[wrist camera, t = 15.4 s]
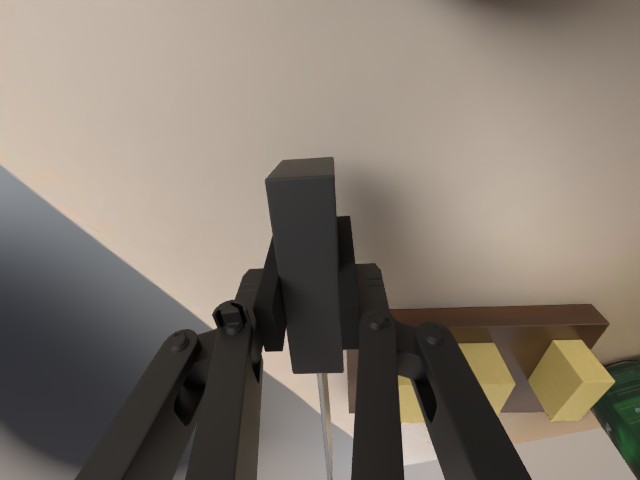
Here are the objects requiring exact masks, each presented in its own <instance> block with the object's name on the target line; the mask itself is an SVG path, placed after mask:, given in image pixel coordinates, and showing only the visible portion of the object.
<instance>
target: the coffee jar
mask: <svg viewBox="0 0 640 480" xmlns="http://www.w3.org/2000/svg"><path fill="white" fill-rule="evenodd" d="M605 369H606V371H607V372H608V373H609V374H610V375H611V377H612V378H613V379H614V380H615V383H614V384H613V385H612V386H611V387H610V388H609V389H608V390H607V391H606V392H605V393H604V394H603V395H602V397H601V398H600V399H599V400H598V401H597V402H596V403H595V404H594V405H593V406H592V407H591V408H590V409H591V411H592V412H593V414H594V415H595V417H596V418H597V420H598V421H599V423H600V424H601V426H602V428H603V429H604V430H605V432H606V433H607V435H608V436H609V438H610V439H611V441H612V442H613V443H614V445H615V447H616V448H617V449H618V451H619V453H620V454H621V456H622V457H623V459H624V460H625V462H626V463H627V465H628V466H629V468H630V469H631V471H632V472H633V474H634V475H635V477H636V478H637V480H640V361H625V362H620V363H616V364H613V365H610V366H607V367H605Z"/></svg>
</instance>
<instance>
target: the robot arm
mask: <svg viewBox="0 0 640 480" xmlns="http://www.w3.org/2000/svg"><path fill="white" fill-rule="evenodd" d="M337 237H338V259H339V273H338V274H339V299H340V320H341V340H342V350H354V349H359V351H358V369H357V386H356V404H355V422H354V439H353V457H352V476H351V480H404V469H403V451H402V434H401V418H400V401H399V385H398V375H399V376H402V377H406V378H409V379H410V381H411V383H412V386H413V389H414V392H415V395H416V398H417V401H418V403H419V406H420V409H421V412H422V415H423V418H424V421H425V423H426V426H427V429H428V432H429V435H430V438H431V441H432V443H433V446H434V449H435V452H436V455H437V458H438V460H439V463H440V466H441V469H442V472H443V475H444V478H445V480H532V479H531V477H530V475H529V474H528V472H527V470H526V468H525V466H524V465H523V462H522V461H521V459H520V457H519V455H518V453H517V451H516V450H515V448H514V446H513V444H512V442H511V440H510V439H509V437H508V435H507V433H506V431H505V429H504V428H503V426H502V424H501V422H500V420H499V418H498V417H497V415H496V413H495V411H494V409H493V407H492V406H491V404H490V402H489V400H488V398H487V396H486V395H485V393H484V391H483V389H482V387H481V385H480V384H479V382H478V380H477V378H476V376H475V374H474V372H473V371H472V369H471V367H470V365H469V363H468V361H467V360H466V358H465V356H464V354H463V352H462V350H461V349H460V347H459V345H458V343H457V341H456V339H455V338H454V336H453V334H452V333H451V331H450V330H449V329H448V328H447V327H445V326H444V325H442V324H440V323H437V322H425V323H422V324H421V325H419V326H418V327H414V326H410V325H406V324H403V323H401V322H399V321H397V320H396V319H395V318H394V317H393V316H392V315H391V313H390V310H389V306H388V302H387V297H386V292H385V288H384V283H383V280H382V274H381V270H380V269H379V268H378V266H377V265H376V264H375V263H371V264H355V257H354V248H353V239H352V230H351V221H350V216H339V217H337ZM212 316H213V318H214V320H215V323H216V325H217V327H218V328H217V329H215V330H212V331H209V332H206V333H202V334H199V335H197V334H196V333H195V332H194V331H192V330H189V329H185V330H180V331H178V332H175V333H174V334H172V335H171V336H170V337H168V338H167V340H166V341H165V342H164V343H163V345H162V346H161V348H160V349H159V351H158V352H157V354H156V356H155V357H154V359H153V360H152V362H151V363H150V365H149V366H148V368H147V369H146V371H145V373H144V374H143V376H142V377H141V379H140V380H139V382H138V384H137V385H136V386H135V388H134V389H133V391H132V392H131V394H130V395H129V397H128V399H127V400H126V402H125V403H124V405H123V406H122V408H121V409H120V411H119V413H118V414H117V416H116V417H115V419H114V420H113V422H112V423H111V425H110V426H109V428H108V429H107V431H106V432H105V434H104V436H103V437H102V439H101V440H100V442H99V443H98V445H97V446H96V448H95V449H94V451H93V452H92V454H91V456H90V457H89V459H88V460H87V462H86V464H85V465H84V466H83V468H82V469H81V471H80V473H79V474H78V476H77V477H76V479H75V480H172V479H173V477H174V475H175V472H176V470H177V468H178V465H179V463H180V461H181V458H182V456H183V454H184V452H185V449H186V447H187V444H188V442H189V440H190V438H191V435H192V433H193V431H194V429H195V426H196V424H197V428H196V432H195V437H194V441H193V446H192V451H191V455H190V460H189V464H188V469H187V474H186V478H185V480H257V462H258V444H259V427H260V409H261V390H262V373H263V359H262V355H261V353H262V348H263V345H264V349H265V352H269V351H283V345H284V338H285V331H286V321H285V314H284V307H283V300H282V294H281V287H280V280H279V274H278V267H277V260H276V254H275V247H274V240H273V236H272V240H271V243H270V247H269V251H268V254H267V258H266V262H265V265H264V269H249V270H248V271H247V272H246V274H245V275H244V276H243V278H242V281H241V283H240V286H239V289H238V292H237V295H236V298H235V300H230V301H226V302H224V303H222V304H220V305H219V306H218V307H217V308H216V309H215V310H214V312H213V314H212ZM197 422H198V423H197Z"/></svg>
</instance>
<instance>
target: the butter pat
mask: <svg viewBox="0 0 640 480" xmlns="http://www.w3.org/2000/svg"><path fill="white" fill-rule="evenodd" d="M528 382H529V384H530V386H531V387H532V389H533V391H534V393H535V395H536V396H537V398H538V400H539V402H540V403H541V405H542V407H543V409H544V410H545V412H546V414H547V416H548V418H549V419H550V421H579V420H580V419H581V418H582V417H583V415H584V414H585V413H586V412H587V411H588V410H589V409H590V408H591V407H592V406H593V405H594V404H595V403H596V402H597V401H598V400H599V399H600V398H601V397H602V395H603V394H604V393H605V392H606V391H607V390H608V389H609V388H610V387H611V386H612V385H613V384H614V383H615V380H614V379H613V378H612V377H611V375H610V374H609V373H608V372H607V371H606V369H605V368H604V367H603V366H602V364H601V363H600V362H599V361H598V359H597V358H596V357H595V356H594V355H593V353H592V352H591V351H590V350H589V348H588V347H587V346H586V345H585V343H584V342H583V341H582V340H553V341H552V342H551V344H550V346H549V347H548V349H547V350H546V352H545V354H544V355H543V357H542V358H541V360H540V361H539V363H538V365H537V366H536V368H535V369H534V371H533V373H532V374H531V376H530V377H529V379H528Z"/></svg>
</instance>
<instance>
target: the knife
mask: <svg viewBox="0 0 640 480" xmlns="http://www.w3.org/2000/svg"><path fill="white" fill-rule="evenodd" d="M265 185H266V192H267V198H268V205H269V212H270V219H271V226H272V233H273V240H274V247H275V254H276V260H277V267H278V274H279V280H280V287H281V294H282V300H283V307H284V314H285V321H286V329H287V336H288V343H289V350H290V357H291V364H292V371H293V373H294V374H309V373H317V377H318V387H319V397H320V407H321V417H322V427H323V438H324V448H325V458H326V468H327V478H328V480H332V429H331V417H330V404H329V392H328V379H327V373H343V371H344V365H343V350H342V340H341V320H340V299H339V274H338V273H339V259H338V237H337V216H336V194H335V173H334V158H333V157H325V158H310V159H294V160H283V161H281V162H280V164H279V165H278V166H277V167H276V168H275V169H274V170H273V171H272V172H271V174H270V175H269V176H268V177H267V178H266V179H265Z"/></svg>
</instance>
